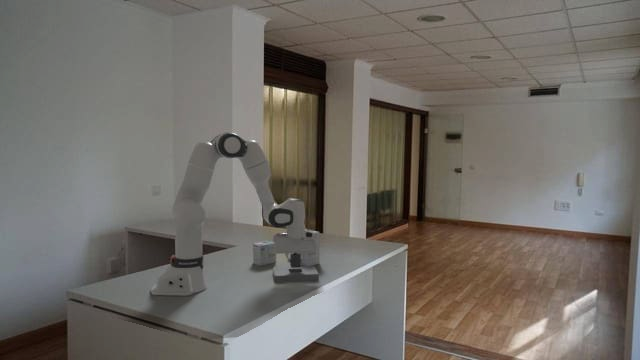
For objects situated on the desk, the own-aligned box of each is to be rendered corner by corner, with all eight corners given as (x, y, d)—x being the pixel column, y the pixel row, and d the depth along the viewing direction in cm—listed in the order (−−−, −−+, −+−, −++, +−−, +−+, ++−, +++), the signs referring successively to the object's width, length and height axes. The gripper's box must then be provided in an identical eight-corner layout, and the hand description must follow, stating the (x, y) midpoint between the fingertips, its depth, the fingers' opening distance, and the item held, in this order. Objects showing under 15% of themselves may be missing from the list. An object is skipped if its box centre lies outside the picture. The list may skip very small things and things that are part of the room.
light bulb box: (268, 259, 238) (268, 240, 237) (276, 262, 233) (276, 242, 232) (252, 263, 231) (252, 243, 230) (260, 266, 226) (260, 245, 225)
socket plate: (275, 282, 200) (275, 275, 200) (272, 273, 214) (272, 267, 214) (318, 280, 204) (318, 274, 203) (313, 271, 217) (313, 265, 217)
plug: (291, 267, 206) (291, 250, 205) (290, 265, 210) (290, 248, 210) (300, 267, 207) (300, 250, 206) (299, 264, 211) (299, 248, 210)
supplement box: (320, 263, 232) (320, 231, 230) (307, 267, 225) (307, 234, 224) (307, 260, 239) (307, 229, 237) (294, 263, 232) (294, 231, 231)
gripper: (273, 234, 202) (273, 264, 203) (317, 233, 206) (317, 262, 207) (272, 232, 208) (272, 260, 209) (315, 230, 212) (315, 259, 213)
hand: (295, 261), depth 208 cm, fingers closed on plug, 4 cm apart
